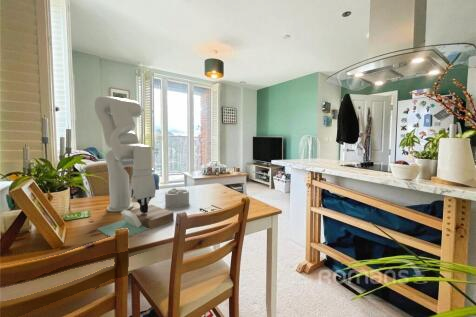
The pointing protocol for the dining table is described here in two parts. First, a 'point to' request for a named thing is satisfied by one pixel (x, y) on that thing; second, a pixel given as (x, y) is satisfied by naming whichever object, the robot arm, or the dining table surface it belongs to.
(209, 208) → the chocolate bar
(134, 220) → the tile
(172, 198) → the lumpy-topped squat cylinder
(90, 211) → the dining table surface
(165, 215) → the block
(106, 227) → the mat
